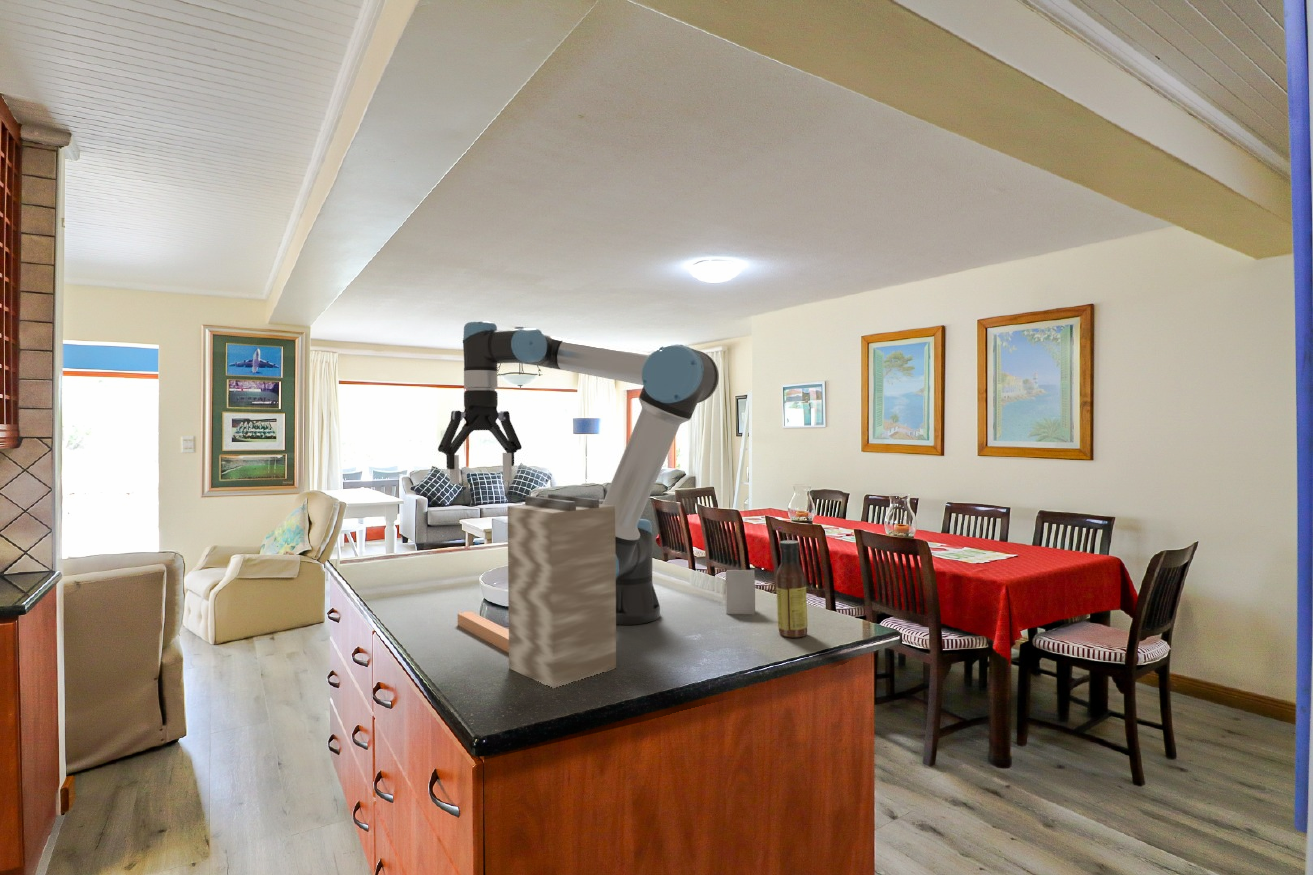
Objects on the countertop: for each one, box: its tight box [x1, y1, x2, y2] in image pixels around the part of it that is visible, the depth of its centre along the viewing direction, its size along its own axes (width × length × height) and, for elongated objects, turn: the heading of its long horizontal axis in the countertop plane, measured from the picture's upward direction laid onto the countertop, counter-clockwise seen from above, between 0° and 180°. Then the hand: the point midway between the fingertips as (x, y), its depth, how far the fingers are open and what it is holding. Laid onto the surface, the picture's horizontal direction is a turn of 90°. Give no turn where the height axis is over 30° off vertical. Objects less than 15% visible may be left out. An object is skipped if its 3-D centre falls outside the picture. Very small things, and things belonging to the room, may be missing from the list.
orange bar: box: [457, 610, 509, 654], centre depth 147 cm, size 26×3×3 cm, turn 39°
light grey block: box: [725, 569, 756, 615], centre depth 166 cm, size 4×7×10 cm, turn 88°
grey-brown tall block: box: [507, 493, 617, 690], centre depth 128 cm, size 14×14×32 cm
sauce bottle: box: [775, 539, 808, 639], centre depth 148 cm, size 7×6×20 cm
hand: (481, 482), depth 161 cm, fingers open, 13 cm apart
